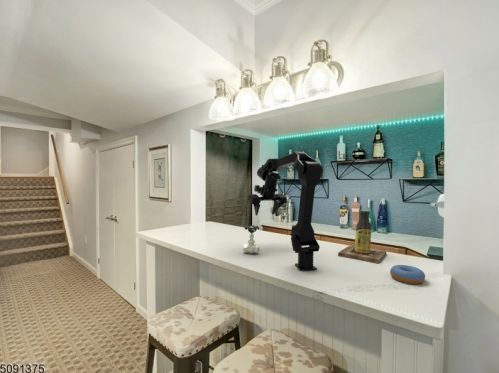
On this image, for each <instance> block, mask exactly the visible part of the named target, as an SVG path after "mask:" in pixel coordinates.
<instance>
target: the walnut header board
mask: <svg viewBox="0 0 499 373" xmlns="http://www.w3.org/2000/svg"><path fill="white" fill-rule="evenodd" d="M337 256H338V257H343V258H347V259H353V260H356V261H357V260H358V261H364V262H369V263H373V264H380V263H381V261H382V260H383V259H384V258H385V257H386V256H387V250H380V249H375V248H370V253H369V256H368V255H362V254H356V253H355V245H350V244H349V245H347V247H345V248H343V249H341V250H340V251H339V252H337Z"/></svg>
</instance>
